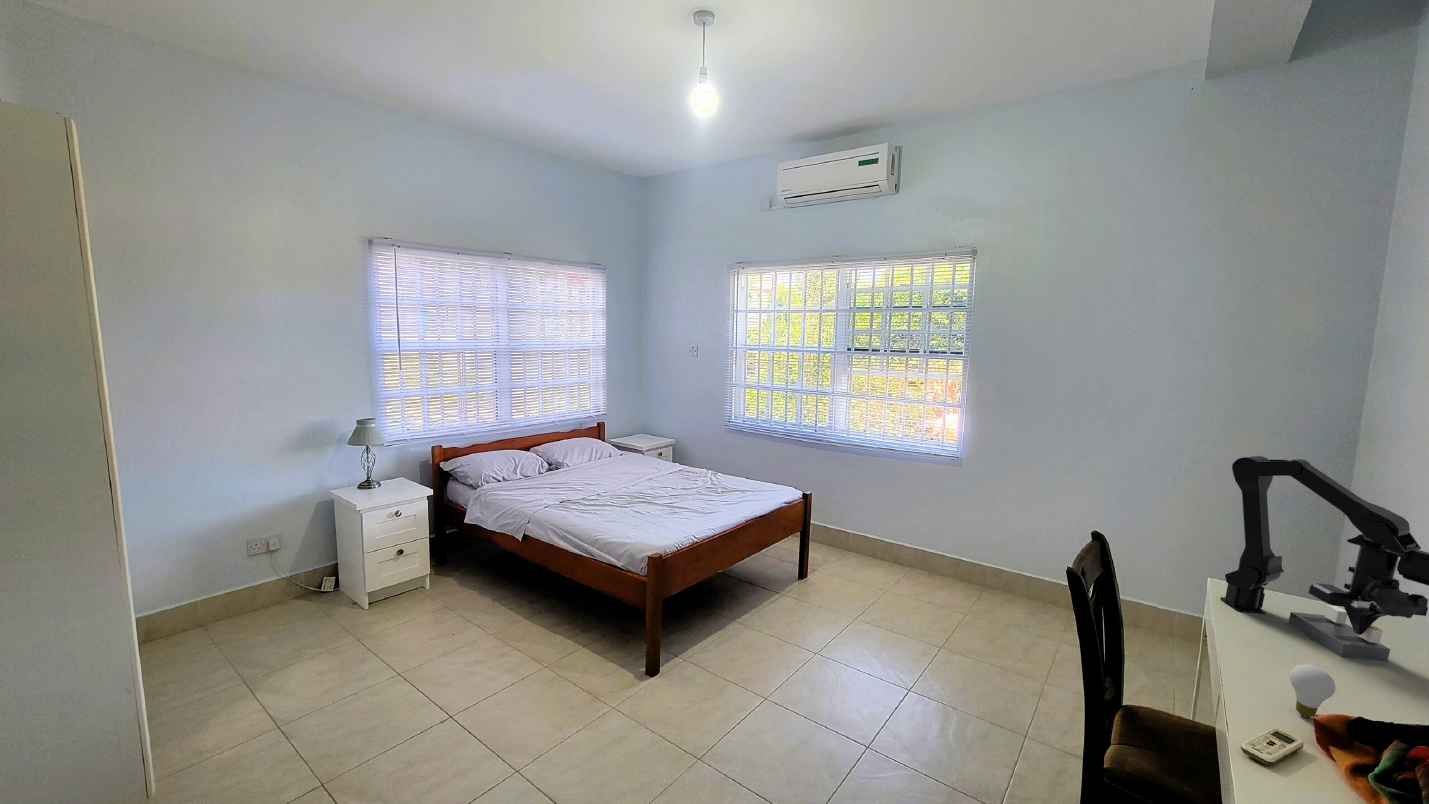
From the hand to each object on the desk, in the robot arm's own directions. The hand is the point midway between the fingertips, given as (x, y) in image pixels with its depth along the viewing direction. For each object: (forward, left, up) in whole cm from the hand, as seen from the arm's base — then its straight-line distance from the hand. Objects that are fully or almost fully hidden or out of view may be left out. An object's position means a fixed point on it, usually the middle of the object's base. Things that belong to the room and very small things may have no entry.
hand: (1357, 633), depth 129 cm
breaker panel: (0, +4, -4) cm, 6 cm away
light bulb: (-30, -27, -5) cm, 41 cm away
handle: (+2, +8, -1) cm, 8 cm away
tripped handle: (+2, 0, -1) cm, 2 cm away
